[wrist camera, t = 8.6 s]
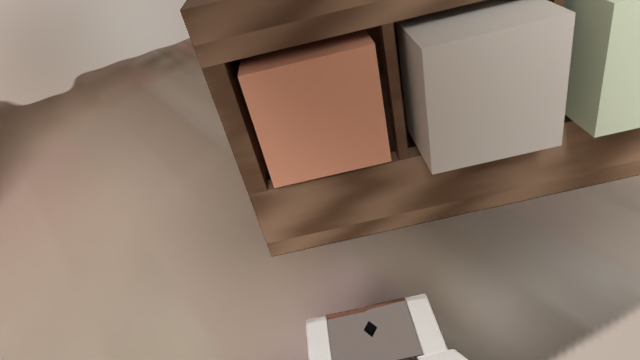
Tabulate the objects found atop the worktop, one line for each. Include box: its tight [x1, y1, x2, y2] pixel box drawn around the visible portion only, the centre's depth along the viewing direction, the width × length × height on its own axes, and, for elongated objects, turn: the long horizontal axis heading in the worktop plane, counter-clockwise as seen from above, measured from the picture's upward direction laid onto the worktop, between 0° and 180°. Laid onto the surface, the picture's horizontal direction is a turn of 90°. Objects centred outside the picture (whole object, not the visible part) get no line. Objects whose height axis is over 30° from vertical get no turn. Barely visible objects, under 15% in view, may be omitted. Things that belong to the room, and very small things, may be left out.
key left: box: [238, 29, 392, 188], centre depth 23 cm, size 6×4×6 cm
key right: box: [565, 0, 640, 138], centre depth 21 cm, size 6×4×6 cm
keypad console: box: [180, 0, 640, 256], centre depth 24 cm, size 24×6×15 cm, turn 95°
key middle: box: [395, 0, 576, 175], centre depth 21 cm, size 6×4×6 cm
